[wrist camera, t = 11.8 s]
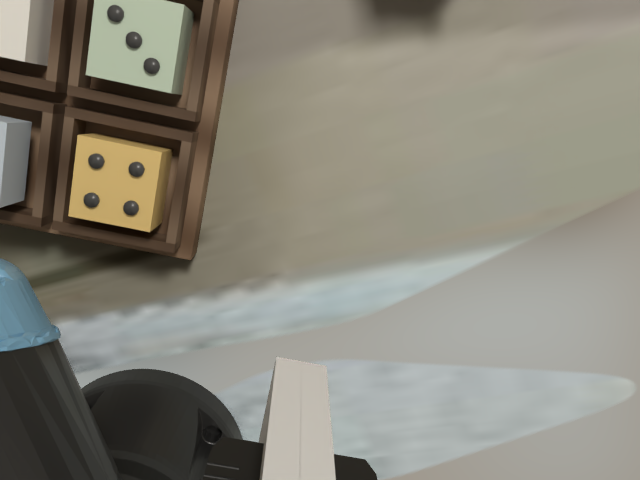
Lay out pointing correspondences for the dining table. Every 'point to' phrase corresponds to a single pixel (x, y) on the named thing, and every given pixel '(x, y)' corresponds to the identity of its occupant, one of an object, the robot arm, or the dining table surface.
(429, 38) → the dining table surface
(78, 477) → the robot arm
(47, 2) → the button one
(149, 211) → the button four
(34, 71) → the wooden compartment tray
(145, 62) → the button three
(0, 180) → the button two
